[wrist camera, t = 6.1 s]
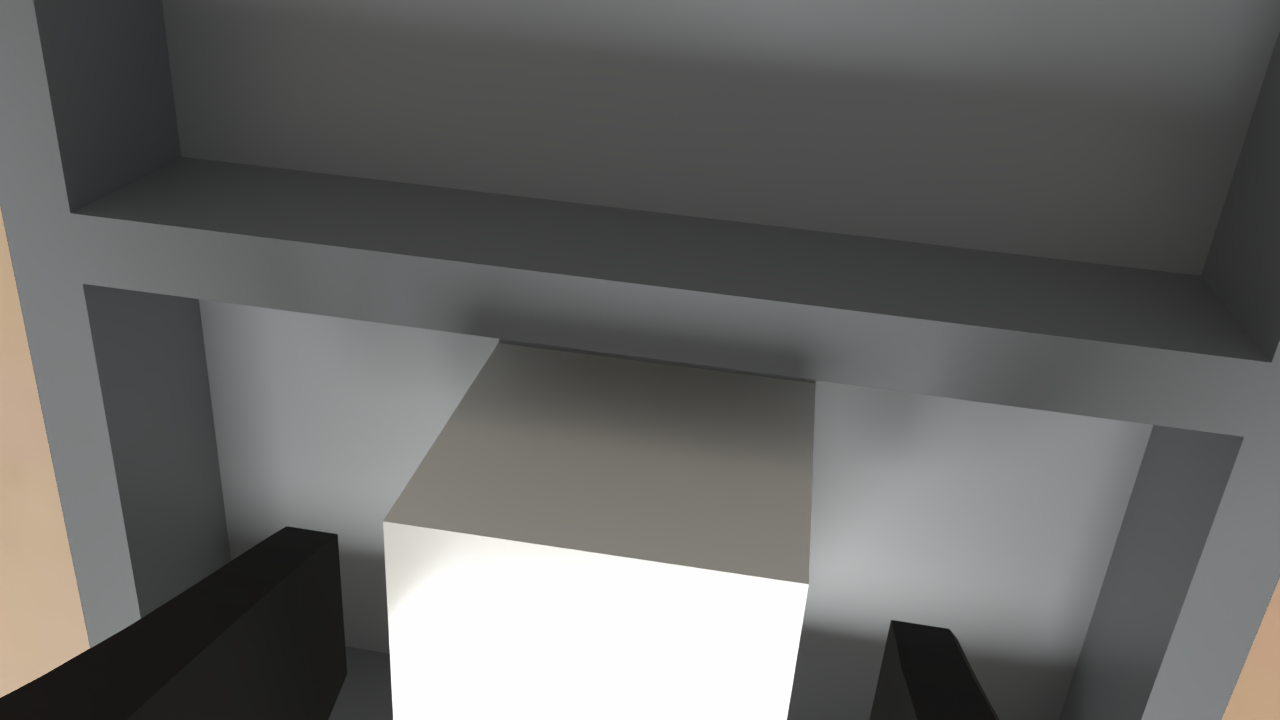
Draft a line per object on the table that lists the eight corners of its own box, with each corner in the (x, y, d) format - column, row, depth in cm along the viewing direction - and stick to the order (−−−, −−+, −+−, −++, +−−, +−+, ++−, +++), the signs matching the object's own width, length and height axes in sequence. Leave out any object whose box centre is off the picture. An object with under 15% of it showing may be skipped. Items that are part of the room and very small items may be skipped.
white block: (816, 382, 13) (808, 584, 10) (777, 637, 15) (759, 885, 12) (498, 342, 14) (381, 521, 10) (497, 594, 16) (398, 820, 12)
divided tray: (1526, -545, 9) (1798, -690, 7) (1078, 769, 16) (1125, 953, 14) (58, -598, 11) (-191, -734, 8) (221, 626, 18) (114, 766, 15)
